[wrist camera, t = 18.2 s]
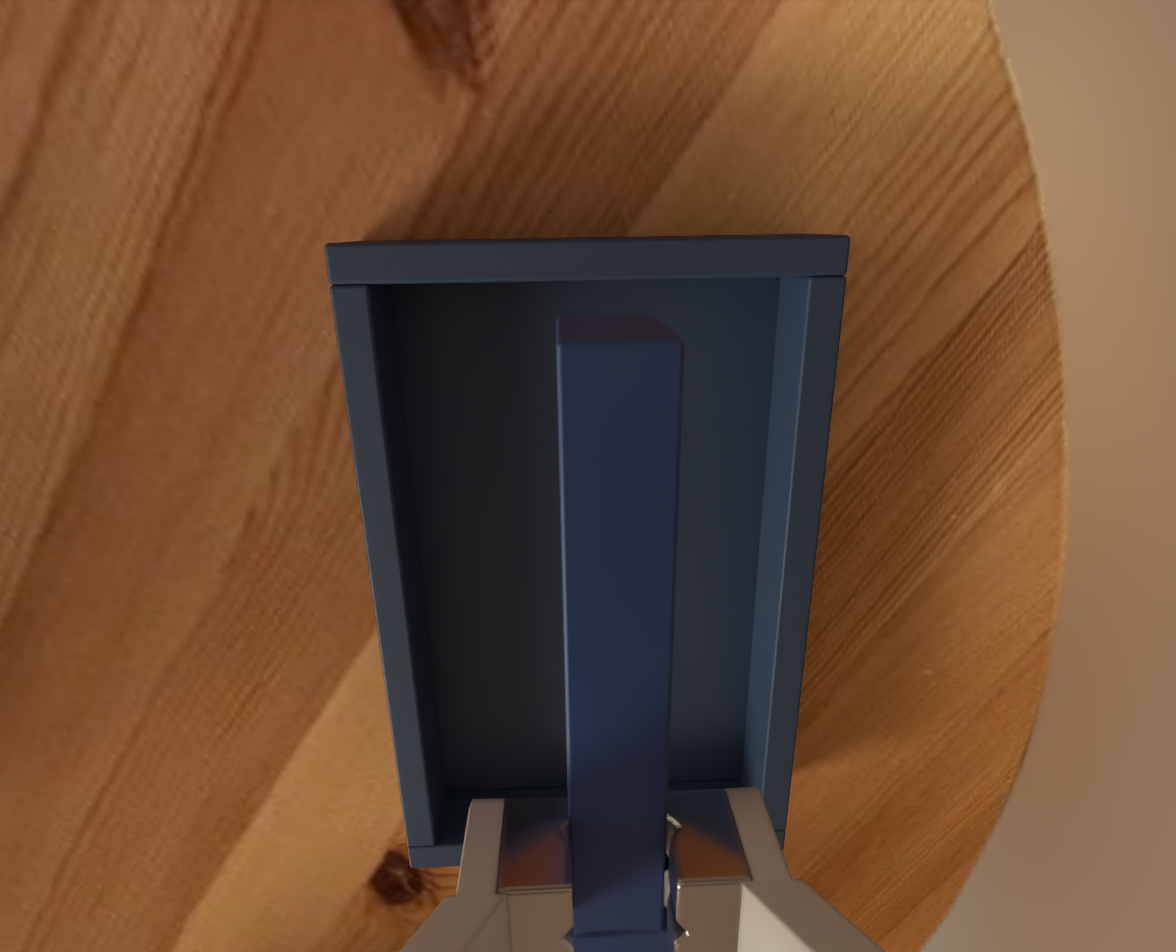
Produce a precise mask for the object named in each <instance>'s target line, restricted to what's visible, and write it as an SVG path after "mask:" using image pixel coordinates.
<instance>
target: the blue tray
mask: <svg viewBox="0 0 1176 952" xmlns="http://www.w3.org/2000/svg"><path fill="white" fill-rule="evenodd" d="M849 245H850V237H849V236H847V235H830V234H771V235H710V236H648V237H587V238H526V239H465V240H403V241H355V242H341V243H328V244H326V245H325V247H324V251H325V258H326V265H327V273H328V280H329V282H330V284H332V285H333V286H331V287H330V295H331V302H332V309H333V316H334V324H335V331H336V338H337V345H338V352H339V359H340V367H341V374H342V381H343V388H344V395H345V402H346V410H347V417H348V424H349V431H350V438H351V445H352V453H353V460H354V467H355V474H356V481H357V488H358V496H359V503H360V510H361V517H362V524H363V531H364V539H365V546H366V553H367V560H368V567H369V574H370V582H371V589H372V596H373V603H374V610H375V617H376V625H377V632H378V639H379V646H380V653H381V660H382V668H383V675H384V682H385V689H386V696H387V704H388V711H389V718H390V725H391V732H392V739H393V747H394V754H395V761H396V768H397V775H398V782H399V790H400V797H401V804H402V811H403V818H404V825H405V833H406V840H407V845H408V855H409V862H410V867H411V868H421V867H443V866H460V863H461V856H462V850H463V844H464V837H465V831H466V824H467V818H468V811H469V807H470V804H471V802H472V799H506V798H516V797H568V790H567V751H566V712H565V674H564V635H563V596H562V558H561V519H560V480H559V442H558V403H557V364H556V321H557V318H558V317H560V316H589V315H654V316H656V317H657V318H658V319H659V320H660V321H662V322H663V323H664V324H665V325H666V326H667V327H669V328H670V329H671V330H672V331H673V332H674V333H676V334H677V335H678V336H679V337H680V338H681V339H682V340H683V341H684V344H685V355H684V381H683V408H682V435H681V462H680V489H679V515H678V542H677V569H676V596H675V623H674V649H673V676H672V703H671V730H670V757H669V783H668V792H669V791H687V790H705V789H722V790H723V789H724V788H740V787H756V788H757V789H758V790H759V791H760V793H761V796H762V798H763V801H764V804H765V806H766V809H767V812H768V815H769V817H770V820H771V823H772V826H773V828H774V831H775V834H776V836H777V839H778V842H779V845H780V847H781V850H783V848H784V839H785V829H786V822H787V812H788V803H789V794H790V785H791V776H792V767H793V758H794V749H795V740H796V731H797V722H798V713H799V703H800V694H801V685H802V676H803V667H804V658H805V649H806V640H807V631H808V622H809V613H810V604H811V594H812V585H813V576H814V567H815V558H816V549H817V540H818V531H819V522H820V513H821V504H822V495H823V485H824V476H825V467H826V458H827V449H828V440H829V431H830V422H831V413H832V404H833V395H834V386H835V377H836V367H837V358H838V349H839V340H840V331H841V322H842V313H843V304H844V295H845V286H846V277H845V276H842V275H845V274H846V272H847V264H848V255H849Z"/></svg>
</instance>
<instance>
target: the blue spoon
mask: <svg viewBox="0 0 1176 952" xmlns="http://www.w3.org/2000/svg"><path fill="white" fill-rule="evenodd" d="M684 355H685V344H684V341H683V340H682V339H681V338H680V337H679V336H678V335H677V334H676V333H674V332H673V331H672V330H671V329H670V328H669V327H667V326H666V325H665V324H664V323H663V322H662V321H660V320H659V319H658V318H657V317H656V316H654V315H589V316H560V317H558V318H557V321H556V364H557V403H558V442H559V480H560V519H561V558H562V596H563V635H564V674H565V712H566V751H567V790H568V816H569V818H570V832H571V852H572V877H573V910H574V952H670V951H669V945H668V938H667V909H666V907H665V906H664V905H663V878H664V870H665V864H666V852H665V850H664V845H665V820H666V813H667V810H668V783H669V757H670V730H671V703H672V676H673V649H674V623H675V596H676V569H677V542H678V515H679V489H680V462H681V435H682V408H683V381H684Z"/></svg>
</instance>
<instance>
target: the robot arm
mask: <svg viewBox="0 0 1176 952" xmlns="http://www.w3.org/2000/svg"><path fill="white" fill-rule="evenodd" d="M664 850H665V852H666V864H665V870H664V878H663V905H664V906H665V907H666V909H667V938H668V945H669V951H670V952H885V951H884V950H883V949H881V948H880V947H879V946H878V945H877V944H876V943H875V942H873V941H872V940H871V939H870V938H869V937H868V936H867V935H865V934H864V933H863V932H862V931H861V930H860V929H859V928H857V927H856V926H855V925H854V924H853V923H852V922H851V921H849V920H848V919H847V918H846V917H845V916H844V915H843V914H841V913H840V912H839V911H838V910H837V909H836V908H835V907H833V906H832V905H831V904H830V903H829V902H828V901H827V900H825V899H824V898H823V897H822V896H821V895H820V894H819V893H817V892H816V891H815V890H814V889H813V888H812V887H811V886H810V885H808V884H807V883H806V882H805V881H804V880H803V879H794V880H792V877H791V875H790V872H789V869H788V866H787V864H786V861H785V858H784V855H783V853H782V850H781V847H780V845H779V842H778V839H777V836H776V834H775V831H774V828H773V826H772V823H771V820H770V817H769V815H768V812H767V809H766V806H765V804H764V801H763V798H762V796H761V793H760V791H759V790H758V789H757V788H756V787H740V788H724V789H723V790H722V789H705V790H687V791H669V792H668V810H667V813H666V820H665V845H664ZM399 952H574V910H573V877H572V852H571V832H570V818H569V816H568V797H516V798H506V799H472V802H471V804H470V807H469V811H468V818H467V824H466V831H465V837H464V844H463V850H462V856H461V863H460V869H459V876H458V882H457V889H456V895H455V896H449V897H445V898H444V899H443V900H442V901H441V902H440V904H439V905H438V906H437V907H436V908H435V909H434V911H433V912H432V913H431V914H430V915H429V917H428V918H427V919H426V920H425V921H424V922H423V924H422V925H421V926H420V927H419V928H418V930H417V931H416V932H415V933H414V934H413V936H412V937H411V938H410V939H409V940H408V941H407V943H406V944H405V945H404V946H403V947H402V949H401V950H400V951H399Z"/></svg>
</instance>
